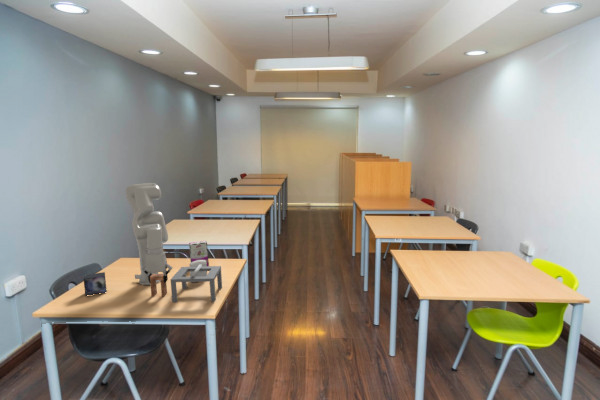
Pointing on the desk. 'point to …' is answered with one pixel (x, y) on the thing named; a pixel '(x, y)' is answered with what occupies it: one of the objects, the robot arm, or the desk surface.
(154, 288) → the u-shaped wooden block
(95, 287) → the small box
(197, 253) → the candy bar box
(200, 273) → the photo printer
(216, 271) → the grey square frame
